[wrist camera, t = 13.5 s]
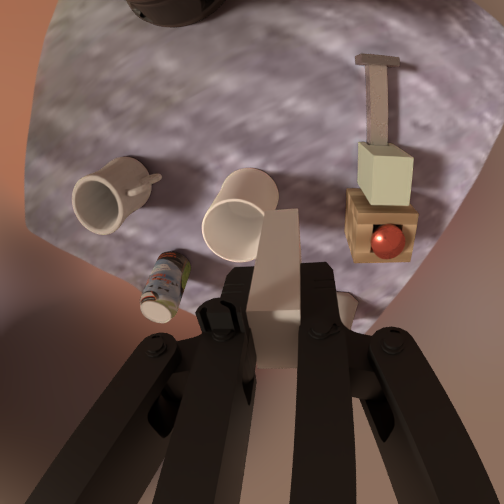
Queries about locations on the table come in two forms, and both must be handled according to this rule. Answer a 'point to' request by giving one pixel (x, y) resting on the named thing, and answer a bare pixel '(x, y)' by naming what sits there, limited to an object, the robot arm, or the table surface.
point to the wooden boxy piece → (365, 215)
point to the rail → (376, 95)
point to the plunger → (387, 241)
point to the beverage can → (165, 287)
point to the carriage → (385, 174)
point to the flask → (346, 308)
